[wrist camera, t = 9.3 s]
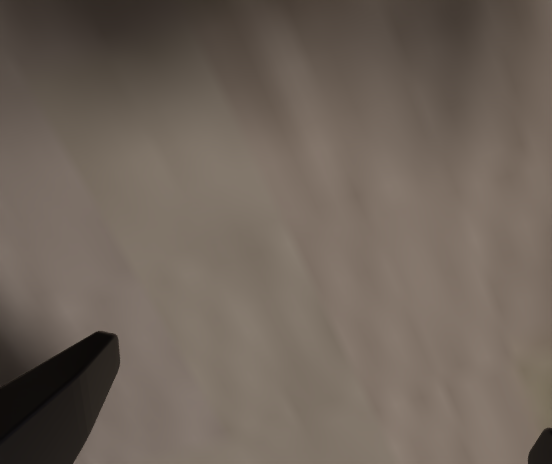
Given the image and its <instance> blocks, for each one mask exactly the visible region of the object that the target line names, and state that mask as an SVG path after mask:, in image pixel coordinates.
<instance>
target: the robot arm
mask: <svg viewBox="0 0 552 464" xmlns="http://www.w3.org/2000/svg"><path fill="white" fill-rule="evenodd" d="M119 365H120V354H119V342H118V337H117V335H116V334H113V333H108V332H104V331H98V332H95V333H93V334H92V335H90V336H88V337H86V338H85V339H83V340H81V341H80V342H78V343H76V344H74V345H73V346H71V347H69V348H68V349H66V350H64V351H63V352H61V353H59V354H57V355H56V356H54V357H52V358H51V359H49V360H47V361H45V362H44V363H42V364H40V365H39V366H37V367H35V368H34V369H32V370H30V371H28V372H27V373H25V374H23V375H22V376H20V377H18V378H16V379H15V380H13V381H11V382H10V383H8V384H6V385H5V386H3V387H1V388H0V464H73V463H74V461H75V459H76V458H77V456H78V454H79V452H80V451H81V449H82V447H83V445H84V444H85V442H86V440H87V438H88V436H89V434H90V432H91V430H92V428H93V426H94V423H95V421H96V419H97V417H98V415H99V412H100V410H101V408H102V406H103V403H104V401H105V399H106V397H107V394H108V392H109V390H110V388H111V386H112V383H113V381H114V379H115V377H116V374H117V372H118V369H119ZM528 464H552V428H546V429H544V430H543V432H542V433H541V435H540V436H539V438H538V439H537V441H536V442H535V444H534V446H533V447H532V449H531V450H530V452H529V456H528Z"/></svg>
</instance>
